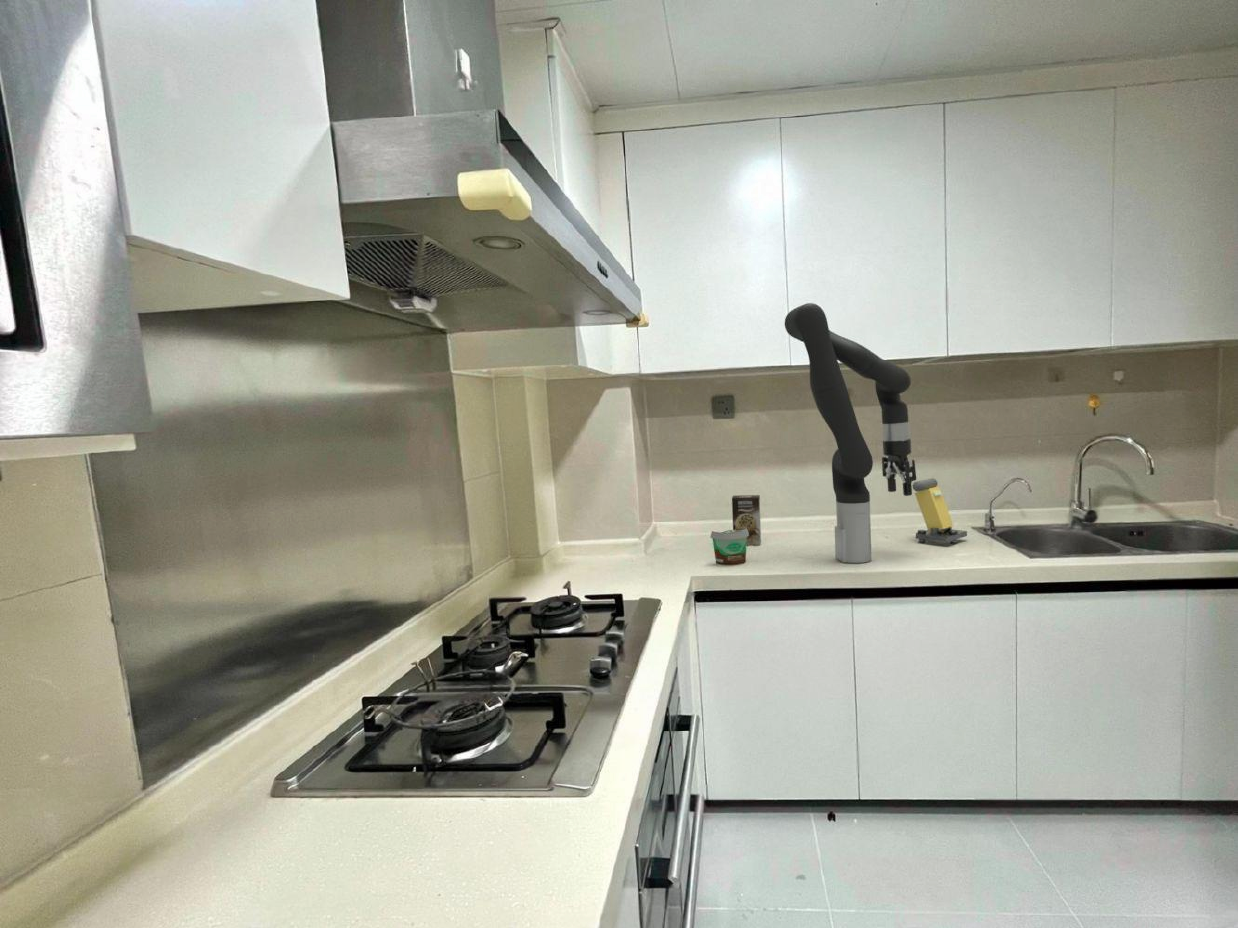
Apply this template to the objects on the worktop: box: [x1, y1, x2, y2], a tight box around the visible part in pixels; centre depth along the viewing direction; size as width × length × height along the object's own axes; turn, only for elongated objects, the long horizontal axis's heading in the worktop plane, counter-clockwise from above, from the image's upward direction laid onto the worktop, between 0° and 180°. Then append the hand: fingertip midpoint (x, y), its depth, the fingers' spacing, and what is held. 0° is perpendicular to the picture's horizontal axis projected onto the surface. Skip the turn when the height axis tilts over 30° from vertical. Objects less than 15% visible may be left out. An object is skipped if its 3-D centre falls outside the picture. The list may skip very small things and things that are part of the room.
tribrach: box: [915, 526, 968, 545], centre depth 208 cm, size 12×10×5 cm
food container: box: [710, 526, 749, 566], centre depth 197 cm, size 12×6×10 cm, turn 112°
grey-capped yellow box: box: [912, 477, 954, 532], centre depth 209 cm, size 9×6×17 cm, turn 126°
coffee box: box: [731, 494, 762, 546], centre depth 222 cm, size 9×6×16 cm
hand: (899, 493), depth 194 cm, fingers open, 8 cm apart
